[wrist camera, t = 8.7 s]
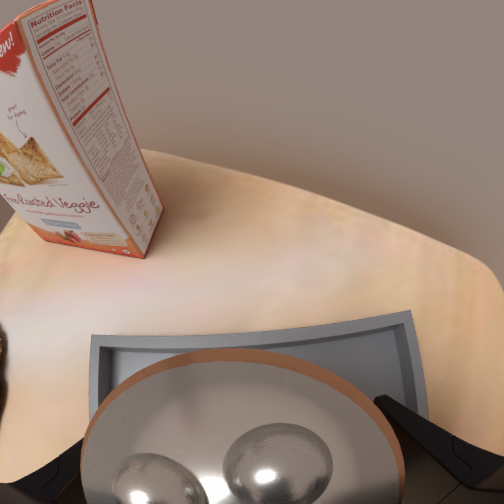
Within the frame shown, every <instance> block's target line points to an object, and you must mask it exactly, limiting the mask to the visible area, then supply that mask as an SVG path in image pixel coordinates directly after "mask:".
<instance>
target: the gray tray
mask: <svg viewBox="0 0 504 504" xmlns="http://www.w3.org/2000/svg"><path fill="white" fill-rule="evenodd" d="M217 348H247V349H256V350H266V351H271V352H276V353H280V354H285V355H290V356H293V357H296V358H299V359H302V360H305V361H308V362H311V363H314V364H316V365H318V366H320V367H322V368H325V369H327V370H329V371H331V372H333V373H335V374H336V375H338V376H340V377H341V378H343V379H345V380H346V381H348V382H350V383H351V384H352V385H354V386H355V387H356V388H357V389H359V390H360V391H361V392H362V393H364V394H365V395H366V396H367V397H368V398H369V399H370V400H371V401H372V402H373V401H374V398H375V397H376V396H379V395H383V394H386V395H388V396H390V397H391V398H393V399H394V400H396V401H398V402H399V403H401V404H402V405H404V406H406V407H407V408H409V409H411V410H412V411H414V412H415V413H417V414H419V415H420V416H422V417H424V418H425V419H427V420H429V416H428V405H427V396H426V388H425V381H424V374H423V368H422V362H421V356H420V351H419V346H418V341H417V336H416V331H415V327H414V323H413V318H412V314H411V310H407V311H402V312H397V313H392V314H387V315H382V316H376V317H371V318H365V319H359V320H353V321H346V322H340V323H333V324H326V325H318V326H310V327H302V328H293V329H284V330H274V331H263V332H250V333H236V334H219V335H196V336H116V335H94V334H92V335H91V347H90V363H89V423H90V421H91V419H92V417H93V416H94V414H95V412H96V411H97V409H98V407H99V406H100V404H101V403H102V402H103V401H104V400H105V398H106V397H107V396H108V395H109V394H110V393H111V392H112V391H113V390H114V389H115V388H116V387H117V386H118V385H120V384H121V383H122V382H123V381H124V380H126V379H127V378H129V377H130V376H132V375H133V374H135V373H136V372H138V371H139V370H141V369H143V368H145V367H148V366H150V365H152V364H154V363H156V362H158V361H161V360H164V359H167V358H170V357H173V356H176V355H179V354H184V353H189V352H193V351H198V350H207V349H217Z"/></svg>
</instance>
